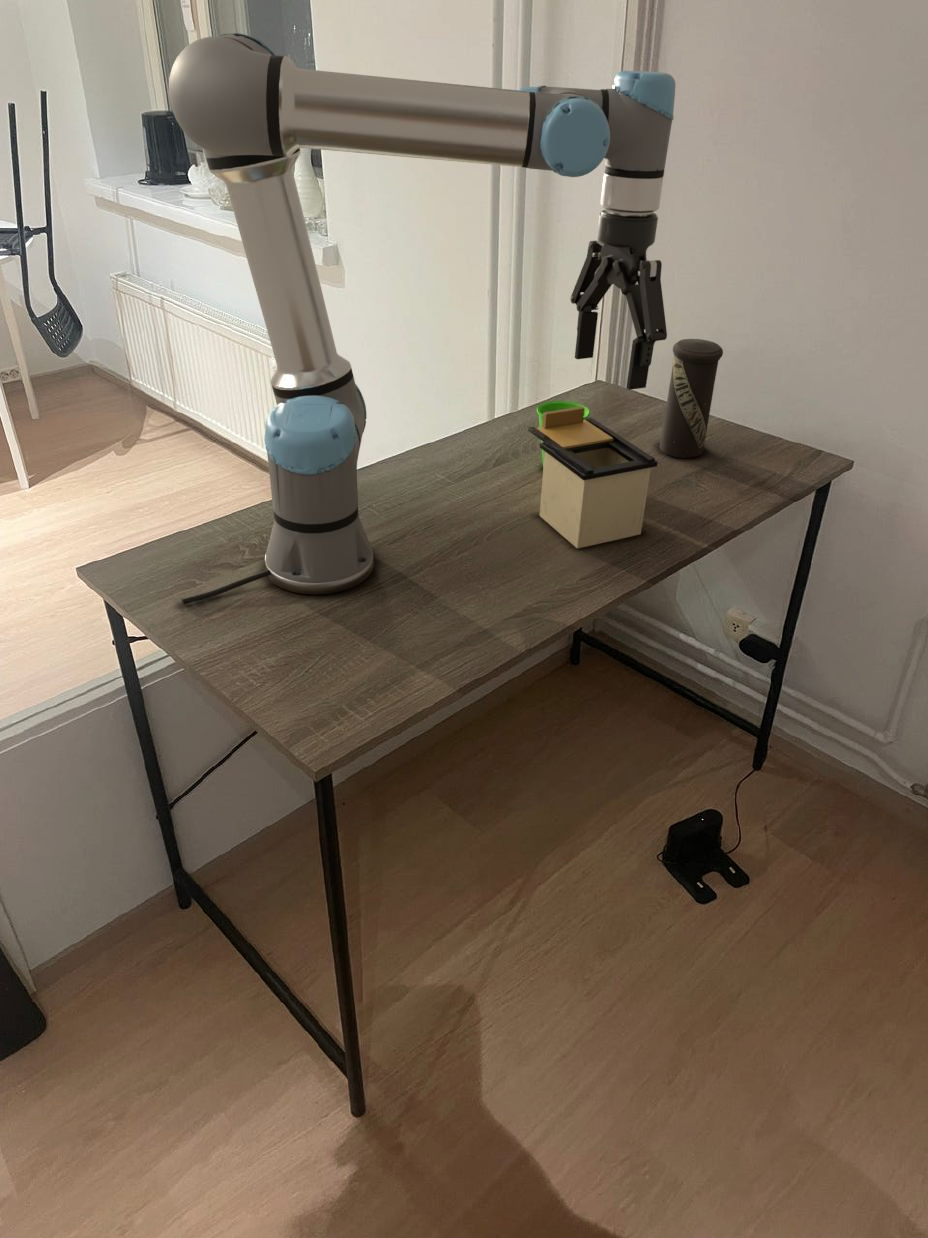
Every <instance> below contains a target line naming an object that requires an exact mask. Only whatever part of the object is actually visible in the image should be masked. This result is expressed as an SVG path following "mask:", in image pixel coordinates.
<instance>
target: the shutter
mask: <svg viewBox="0 0 928 1238" xmlns="http://www.w3.org/2000/svg"><path fill="white" fill-rule="evenodd" d="M583 418H584V408H583V407H582V406H580V407H574V408H568V409H561V410H555V411H549V412H543V423H542V427H540V426H538V427H536V428H537V429H538V430H539V431H541V432H542V433H544V434H545V435H546V436H548V437H549V438H550V439H552V440H553V441H555V442H556V443H557V444H559V445H560V446H561V447H563V448H564V449H568V448H573V447H579V446H585V445H590V444H596V443H602V442H608V441H613V438H612V437H611V436H609V435H608V434H606V433H604V432H603V431H601V430H600V429H598V428H597V427H595V426H594V425H592V424H591V423H589V422H588V421H586V420H583Z"/></svg>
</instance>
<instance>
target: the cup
mask: <svg viewBox="0 0 928 1238" xmlns="http://www.w3.org/2000/svg"><path fill="white" fill-rule="evenodd" d="M580 406H582V407H583V408H584V418H583V420H586V418H589V417H590V414H591V412H590V410H589V408H588V407H587V406H585V405H583V404H581V403H577V402H574V401H568V400H552V401H546V402H544V403H541V404H539V405H538V406H537V408H536V413H537V414H538V422H539V427H542V423H543V412H549V411H555V410H561V409H568V408H574V407H580ZM542 442H543V441H542V440H540V443H542ZM544 455H545V451H544V450H543V449H541V457H542V458H541V459H542V467H544Z"/></svg>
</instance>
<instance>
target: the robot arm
mask: <svg viewBox="0 0 928 1238" xmlns="http://www.w3.org/2000/svg"><path fill="white" fill-rule="evenodd" d="M676 85H677V83H676V80H675V78H674V77H673V76H672V75H671V74H670V73H667V72H659V71H647V70H620V71H618V72H617V73H616V74H615V77H614V81H613V83H612V85H611V88H605V89H604V88H602V89H592V88H577V87H576V88H575V87H558V86H547V85H537V86H522V87H520V88H518V89H510V88H509V89H506V88H498V87H488V86H487V87H486V86H479V85H468V84H460V83H459V84H457V83H448V82H447V83H446V82H438V81H427V80H419V79H418V80H416V79H407V78H396V77H388V76H387V77H386V76H377V75H368V74H356V73H348V72H347V73H346V72H338V71H337V72H336V71H329V70H328V71H327V70H317V69H306V68H299V67H297V66H296V64H295V63H294V61H293V60H292V59H291V58H290V57H289V56H286V55H277V54H276V53H275V52H274V51H273V49H272V48H270V47H269V46H268V45H266V44H265V43H264V42H262V41H261V40H259V39H257V38H255V37H253V36H250V35H247V34H244V33H239V32H234V33H222V34H220V35H212V36H207V37H202V38H199V39H195V40H194V41H193V42H191V43H189V44H188V45H186V47H184V48H183V49H182V51H180V53H179V54H178V55H177V56H176V59H175V60H174V62H173V64H172V67H171V70H170V73H169V78H168V98H169V103H170V107H171V111H172V113H173V116H174V118H175V121H176V122H177V124H178V125H179V127H180V129H181V130H182V132H184V134H185V135H186V137H188V138H189V139H190V140H191V141H192V142H193V143H195V144H196V145H197V146H198V147H201V148H202V150H203V153H204V156H205V160H206V163H207V167H208V171H209V172H210V173H211V174H213V175H214V176H215V177H217V178H218V179H219V180H221V181H222V182H223V183H224V184H225V185H226V189H227V192H228V193H227V194H228V196H229V201H230V203H231V207H232V210H233V213H234V219H235V221H236V224H237V229H238V231H239V235H240V239H241V243H242V246H243V249H244V253H245V257H246V260H247V265H248V267H249V270H250V275H251V278H252V281H253V285H254V289H255V292H256V296H257V299H258V303H259V306H260V310H261V313H262V317H263V320H264V324H265V327H266V330H267V331H266V332H267V335H268V338H269V342H270V346H271V349H272V352H273V355H274V360H275V363H276V369H275V371H274V373H273V374H272V376H271V378H270V385H271V390H272V392H273V396H274V399H275V403H276V405H275V406H274V408H272V409H271V411H270V412H269V413H268V415H267V416H266V420H265V425H264V426H265V427H264V428H265V431H264V438H263V439H264V440H263V441H264V445H265V450H266V454H267V463H268V464H267V465H268V473H269V484H270V493H271V503H272V511H273V525H272V529H271V533H270V537H269V540H268V545H267V548H266V552H265V555H264V564H265V570H263V571H260V572H258V573H255V574H252V575H249V576H247V577H244V578H241V579H239V580H236V581H234V582H231V583H229V584H225V585H223V586H220V587H218V588H215V589H213V590H209V591H205V592H203V593H200V594H196V595H191V596H187V597H184V598H181V603H182V605H187V604H190V603H195V602H197V601H198V602H199V601H202V600H205V599H209V598H212V597H215V596H218V595H221V594H224V593H226V592H228V591H231V590H235V589H236V588H239V587H241V586H244V585H247V584H249V583H252V582H255V581H257V580H260V579H263V578H266V577H267V578H269V580H270V581H271V582H272V583H273V584H274V585H276V586H277V587H278V588H281V589H283V590H286V591H288V592H292V593H296V594H301V595H327V594H335V593H339V592H343V591H346V590H350V589H351V588H354V587H356V586H358V585H360V584H361V583H363V582H364V581H366V580H367V579H368V578H369V577H370V575H371V574H372V572H373V569H374V551H373V548H372V546H371V543H370V541H369V539H368V536H367V534H366V531H365V529H364V526H363V524H362V521H361V518H360V516H359V494H358V492H359V491H358V460H359V454H360V450H361V449H360V448H361V444H362V439H363V434H364V432H365V429H366V425H367V420H366V419H367V406H366V402H365V399H364V396H363V394H362V392H361V390H360V388H359V386H358V385H357V384H356V381H355V380H356V379H355V376H354V373H353V368H352V365H351V362H350V361H349V360H348V359H346V358H344V357H343V356H342V355H340V354H339V353H338V352H337V348H336V342H335V338H334V335H333V331H332V327H331V323H330V319H329V314H328V310H327V306H326V302H325V301H326V300H325V297H324V294H323V290H322V286H321V285H322V284H321V281H320V277H319V273H318V269H317V265H316V260H315V256H314V252H313V249H312V248H313V247H312V245H311V240H310V236H309V235H310V234H309V232H308V227H307V224H306V219H305V215H304V211H303V207H302V203H301V199H300V195H299V191H298V186H297V182H296V178H295V174H294V168H295V165H296V163H297V162H298V159H299V158H300V156H301V153H302V152H301V149H308V150H309V149H311V150H321V151H331V152H333V151H334V152H345V153H357V154H367V155H380V156H391V157H399V158H401V157H402V158H411V159H412V158H414V159H425V160H436V161H445V162H458V163H470V164H471V163H472V164H480V165H481V164H482V165H492V166H503V167H504V166H505V167H513V168H515V167H516V168H524V169H530V170H540V171H550V172H551V171H552V172H553V173H555V174H557V175H559V176H561V177H568V178H579V177H583V176H585V175H588V174H590V173H592V172H593V171H594V170H595V169H597V168H598V167H599V166H600V165H601V163H602V162H603V161H604V159H605V165H604V172H603V178H602V179H603V180H602V188H601V195H600V206H601V207H602V209H603V208H604V209H603V210H601V212H600V213H599V218H598V225H597V226H598V227H597V236H596V238H597V240H590V241H589V242H588V246H587V254H586V258H585V260H584V263H583V265H582V268H581V269H580V273H579V275H578V276H577V277H578V278H577V280H576V282H575V285H574V288H573V290H572V292H571V295H570V300H569V301H570V303H571V304H572V305H573V304H575V305H576V311H577V312H578V316H577V327H576V340H575V341H576V342H575V350H574V359H576V360H584V359H585V360H586V359H593V358H594V354H595V353H594V352H595V351H594V350H595V343H596V334H597V326H598V316H599V312H597V310H599V306H598V305H599V303H601V301H602V299H603V298H604V296H605V295H606V293H607V292H608V291H609V290H610V288H611V287H612V285H614V286H615V287H616V288H618V289H620V292H621V294H622V295H623V296H625V298H626V301H627V305H628V309H629V313H630V317H631V321H632V324H633V328H634V331H635V335H636V337H635V338H634V339H633V340H632V344H631V350H630V358H629V364H628V365H629V366H628V372H627V379H626V387H625V388H626V389H627V390H629V391H631V390H639V389H646V388H647V382H648V375H649V370H650V366H651V364H652V359H653V353H654V347H655V343H656V342H658V341H659V342H660V341H665V340H667V337H668V331H667V330H668V329H667V323H666V313H665V306H664V297H663V289H662V281H661V278H662V269H663V268H662V267H663V265H662V264H663V263H662V261H661V260H660V259H653V260H648V259H647V250H648V248H649V247H651V246H653V245H654V243H655V242H656V234H657V227H658V220H659V217H658V215H657V213H655V212H657V211H658V210H659V209H660V205H661V198H662V190H663V189H662V188H663V182H664V176H665V168H666V162H667V155H668V150H669V144H670V137H671V130H672V124H673V121H674V118H675V116H674V109H675V99H676V88H677V87H676Z"/></svg>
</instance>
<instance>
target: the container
mask: <svg viewBox="0 0 928 1238" xmlns="http://www.w3.org/2000/svg"><path fill="white" fill-rule="evenodd" d="M672 352H673V353H672V354H673V360H672V367H671V373H670V374H671V375H670V381H669V387H668V392H667V399H666V404H665V405H666V406H665V411H664V417H663V421H662V422H663V423H662V428H661V435H660V440H659V450H660V451H661V452H662V453H664V454H666V455H668V456H670V457H674V458H680V459H691V458H695V457H698V456H700V455H702V454H703V452H704V449H705V443H706V438H707V433H708V432H707V431H708V424H709V419H710V414H711V408H712V402H713V395H714V389H715V382H716V376H717V370H718V365H719V361H720V360H721V358H722V357H723V354H724V350H723V347H721V346H720V345H719V344H718V343H716V342H714V341H711V340H707V339H701V338H685V339H680V340H679V341H677V342H675V343H674V344H673V346H672Z"/></svg>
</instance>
